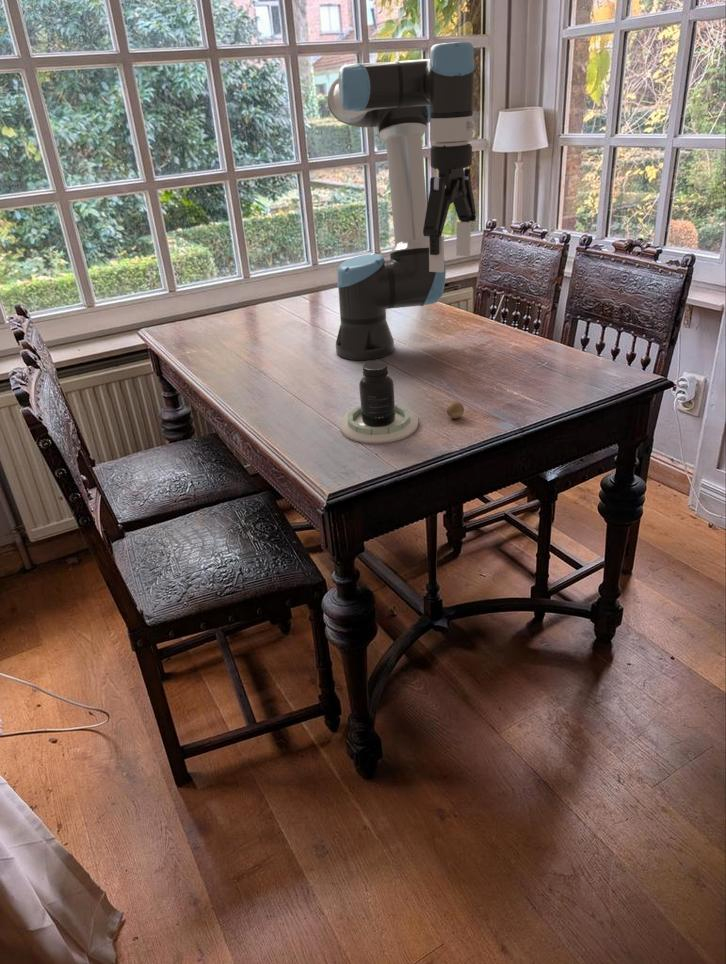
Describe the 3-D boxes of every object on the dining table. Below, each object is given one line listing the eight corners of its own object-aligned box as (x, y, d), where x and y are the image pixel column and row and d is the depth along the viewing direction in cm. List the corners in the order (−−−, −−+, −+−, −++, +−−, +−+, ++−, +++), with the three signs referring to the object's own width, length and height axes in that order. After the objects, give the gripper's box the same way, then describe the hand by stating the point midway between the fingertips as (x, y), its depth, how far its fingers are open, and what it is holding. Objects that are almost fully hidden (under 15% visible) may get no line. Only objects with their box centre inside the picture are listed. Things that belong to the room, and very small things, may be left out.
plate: (325, 434, 137) (324, 425, 135) (363, 404, 148) (362, 394, 147) (396, 449, 130) (396, 439, 128) (430, 415, 141) (430, 406, 140)
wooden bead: (443, 419, 139) (444, 404, 138) (450, 413, 142) (450, 397, 140) (459, 422, 138) (460, 406, 136) (466, 415, 140) (466, 400, 139)
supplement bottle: (360, 415, 141) (356, 360, 135) (393, 412, 142) (390, 357, 135) (363, 429, 135) (358, 372, 129) (397, 426, 136) (394, 369, 130)
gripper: (443, 151, 112) (443, 280, 123) (494, 136, 131) (490, 250, 142) (402, 151, 116) (405, 277, 127) (457, 137, 134) (456, 248, 145)
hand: (450, 263), depth 134 cm, fingers open, 13 cm apart
